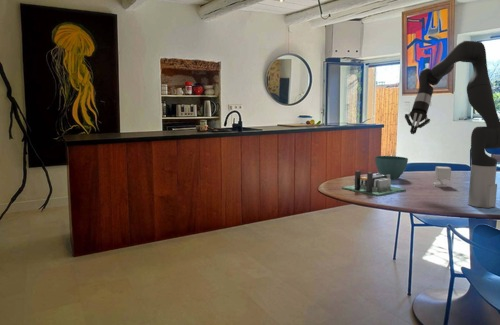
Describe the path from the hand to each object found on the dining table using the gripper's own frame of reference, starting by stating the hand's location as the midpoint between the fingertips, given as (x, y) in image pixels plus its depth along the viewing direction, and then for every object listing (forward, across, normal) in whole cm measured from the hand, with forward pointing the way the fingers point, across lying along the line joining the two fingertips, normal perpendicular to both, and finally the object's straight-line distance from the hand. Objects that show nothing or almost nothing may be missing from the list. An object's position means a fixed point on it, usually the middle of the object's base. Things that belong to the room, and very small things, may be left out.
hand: (412, 133), depth 200 cm
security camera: (+16, +21, +22) cm, 34 cm away
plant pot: (+15, -5, +37) cm, 40 cm away
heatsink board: (+33, -9, +3) cm, 35 cm away
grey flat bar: (+25, -8, +5) cm, 26 cm away
